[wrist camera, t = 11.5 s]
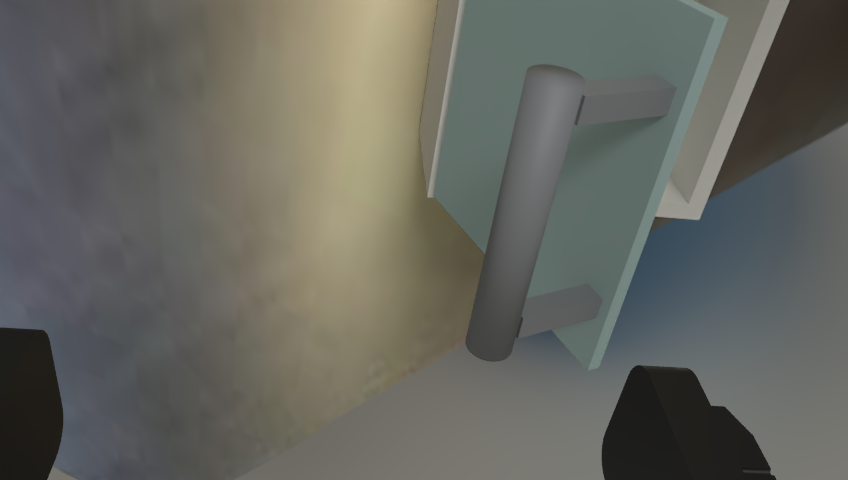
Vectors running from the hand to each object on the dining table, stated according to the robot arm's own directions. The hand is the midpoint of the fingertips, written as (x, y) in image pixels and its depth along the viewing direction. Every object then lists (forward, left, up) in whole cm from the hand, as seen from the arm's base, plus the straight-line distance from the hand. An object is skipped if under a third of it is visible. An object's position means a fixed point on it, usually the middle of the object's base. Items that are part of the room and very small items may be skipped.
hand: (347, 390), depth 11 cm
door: (+6, +9, -21) cm, 24 cm away
